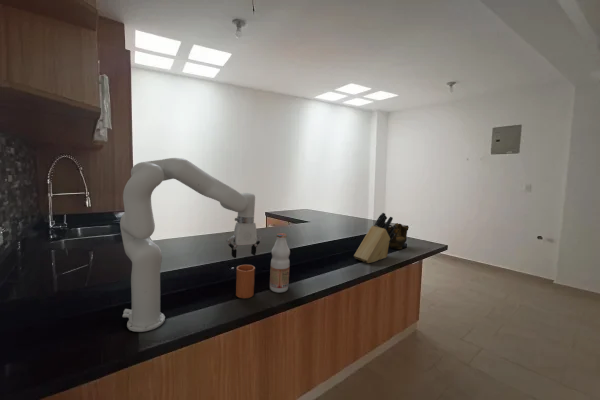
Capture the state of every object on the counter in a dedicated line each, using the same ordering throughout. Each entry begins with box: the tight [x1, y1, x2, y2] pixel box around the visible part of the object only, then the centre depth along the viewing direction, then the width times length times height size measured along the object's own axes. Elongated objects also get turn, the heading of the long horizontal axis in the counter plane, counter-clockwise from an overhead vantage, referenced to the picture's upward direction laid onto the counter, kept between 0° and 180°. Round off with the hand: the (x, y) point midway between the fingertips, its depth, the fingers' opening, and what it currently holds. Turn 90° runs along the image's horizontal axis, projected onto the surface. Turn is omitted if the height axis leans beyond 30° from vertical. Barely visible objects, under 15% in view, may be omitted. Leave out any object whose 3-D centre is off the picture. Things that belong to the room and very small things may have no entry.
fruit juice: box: [269, 232, 291, 293], centre depth 144 cm, size 9×9×28 cm
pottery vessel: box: [387, 222, 409, 250], centre depth 232 cm, size 25×11×20 cm, turn 132°
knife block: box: [353, 212, 396, 264], centre depth 202 cm, size 11×35×31 cm, turn 133°
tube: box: [235, 264, 256, 299], centre depth 137 cm, size 8×8×13 cm
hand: (243, 255), depth 136 cm, fingers open, 9 cm apart
